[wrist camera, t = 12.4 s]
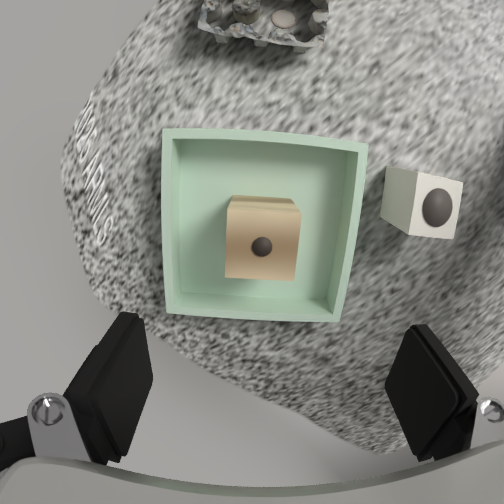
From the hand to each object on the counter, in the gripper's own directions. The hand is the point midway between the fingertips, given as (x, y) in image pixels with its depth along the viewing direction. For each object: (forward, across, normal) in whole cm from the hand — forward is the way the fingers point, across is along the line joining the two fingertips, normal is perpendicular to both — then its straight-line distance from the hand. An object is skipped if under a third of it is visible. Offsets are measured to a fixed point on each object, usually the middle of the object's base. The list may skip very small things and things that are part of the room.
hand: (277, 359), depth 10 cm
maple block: (+18, 0, 0) cm, 18 cm away
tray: (+18, 0, 0) cm, 18 cm away
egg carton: (+19, +1, -19) cm, 27 cm away
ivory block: (+18, -14, -4) cm, 23 cm away
